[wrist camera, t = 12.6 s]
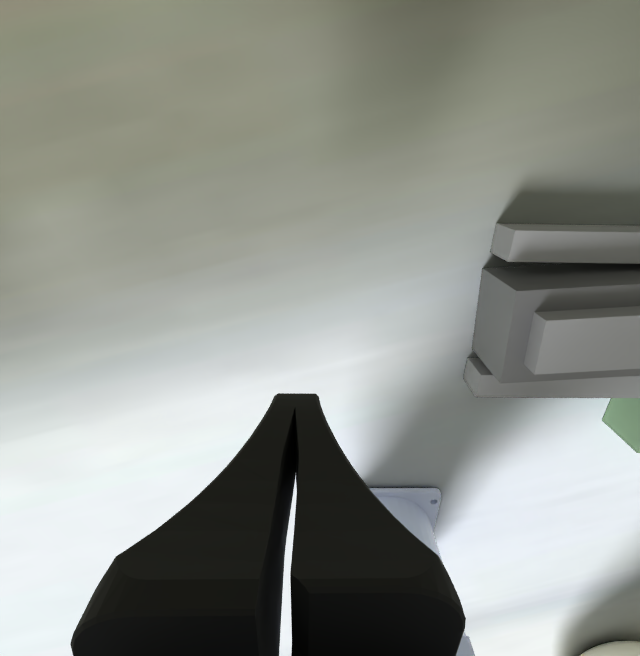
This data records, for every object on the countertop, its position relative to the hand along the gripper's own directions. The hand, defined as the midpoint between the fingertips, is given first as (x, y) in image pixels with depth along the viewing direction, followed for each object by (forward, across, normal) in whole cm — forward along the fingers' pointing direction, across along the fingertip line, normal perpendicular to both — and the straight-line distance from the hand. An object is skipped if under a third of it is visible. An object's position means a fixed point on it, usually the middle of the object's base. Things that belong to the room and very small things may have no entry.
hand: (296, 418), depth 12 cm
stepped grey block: (+10, -14, 0) cm, 18 cm away
